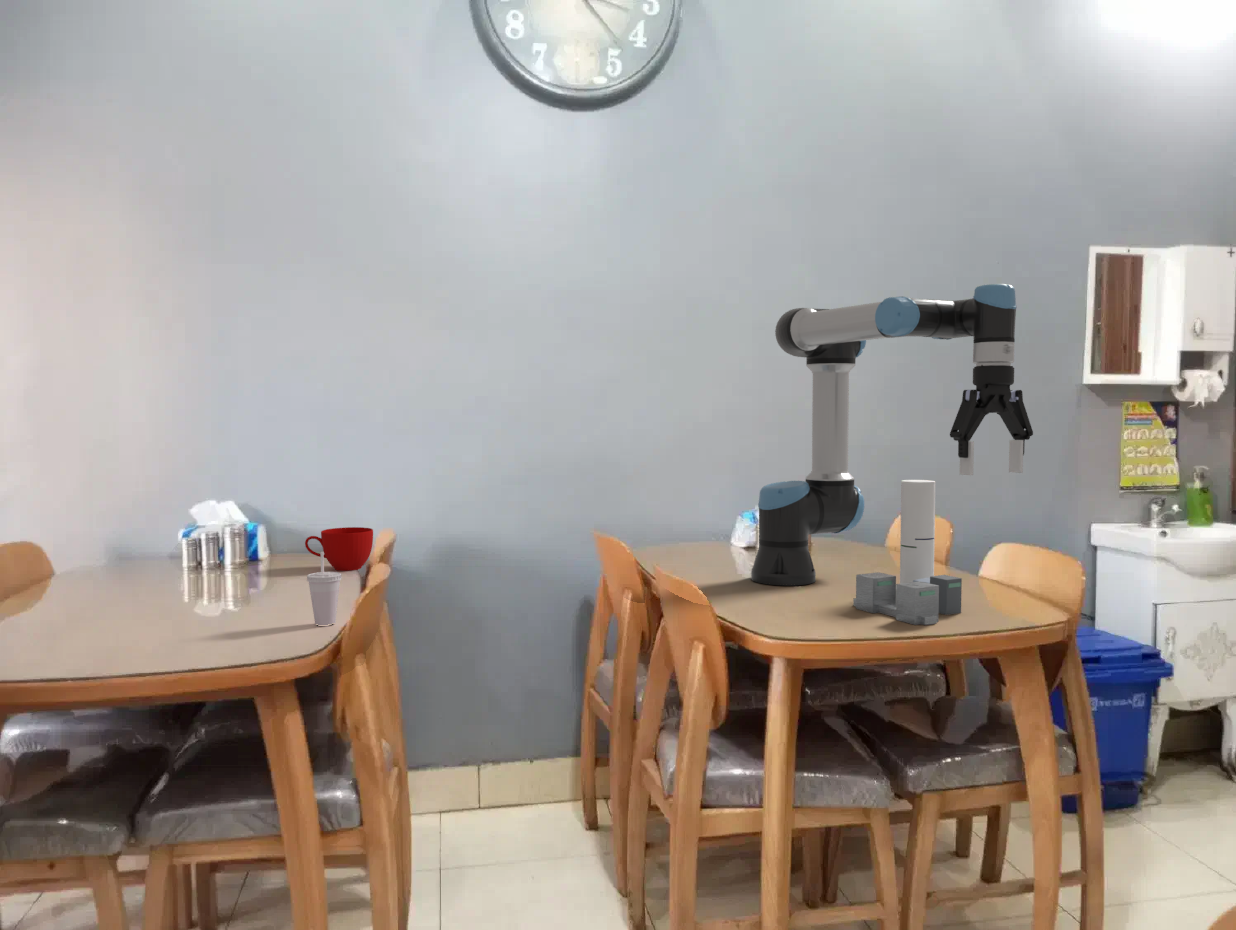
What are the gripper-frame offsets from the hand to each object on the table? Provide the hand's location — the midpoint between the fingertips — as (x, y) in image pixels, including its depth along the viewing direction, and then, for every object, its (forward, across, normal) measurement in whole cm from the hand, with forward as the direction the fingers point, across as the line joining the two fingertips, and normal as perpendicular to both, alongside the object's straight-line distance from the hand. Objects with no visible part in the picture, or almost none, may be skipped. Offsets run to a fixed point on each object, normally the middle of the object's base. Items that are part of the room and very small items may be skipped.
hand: (991, 473), depth 183 cm
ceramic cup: (+28, -104, +116) cm, 159 cm away
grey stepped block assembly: (+28, -16, +9) cm, 34 cm away
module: (+28, -5, +6) cm, 29 cm away
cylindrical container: (+28, +3, +22) cm, 36 cm away
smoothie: (+28, -118, +53) cm, 133 cm away
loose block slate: (+28, -2, +13) cm, 31 cm away
